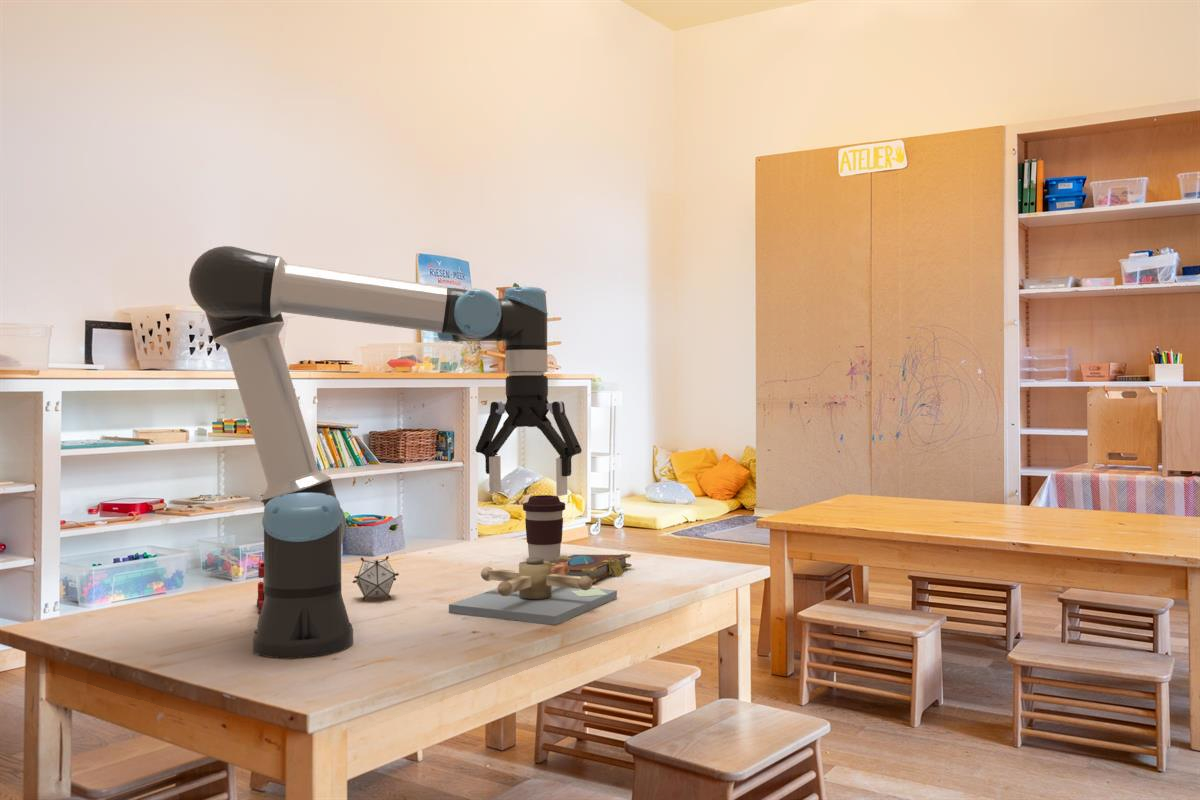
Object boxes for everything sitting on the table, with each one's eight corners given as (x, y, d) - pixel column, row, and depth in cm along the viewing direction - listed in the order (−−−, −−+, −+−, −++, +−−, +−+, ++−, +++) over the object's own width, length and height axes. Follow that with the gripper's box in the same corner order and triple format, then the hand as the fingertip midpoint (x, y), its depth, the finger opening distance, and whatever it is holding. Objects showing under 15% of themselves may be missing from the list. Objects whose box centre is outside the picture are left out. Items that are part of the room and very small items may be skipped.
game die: (381, 619, 190) (384, 583, 184) (342, 602, 191) (344, 566, 185) (404, 589, 197) (408, 553, 191) (367, 572, 198) (370, 537, 192)
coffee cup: (569, 562, 229) (568, 498, 229) (526, 564, 227) (526, 499, 227) (561, 555, 239) (560, 493, 239) (520, 557, 237) (519, 495, 236)
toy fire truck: (275, 602, 188) (274, 552, 188) (278, 618, 175) (278, 563, 175) (256, 604, 187) (256, 553, 187) (258, 620, 174) (258, 565, 174)
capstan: (559, 614, 168) (559, 574, 168) (445, 602, 179) (445, 564, 179) (620, 589, 189) (619, 553, 189) (514, 579, 200) (514, 545, 200)
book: (519, 590, 205) (518, 565, 205) (572, 569, 227) (571, 548, 227) (590, 591, 198) (589, 566, 198) (638, 570, 220) (637, 548, 220)
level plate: (557, 625, 168) (556, 610, 168) (448, 612, 178) (448, 598, 178) (618, 598, 190) (618, 584, 190) (518, 588, 200) (518, 575, 200)
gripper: (599, 373, 174) (600, 493, 175) (478, 375, 185) (479, 489, 185) (580, 373, 168) (581, 498, 168) (455, 375, 178) (457, 493, 178)
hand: (528, 493), depth 177 cm, fingers open, 13 cm apart
